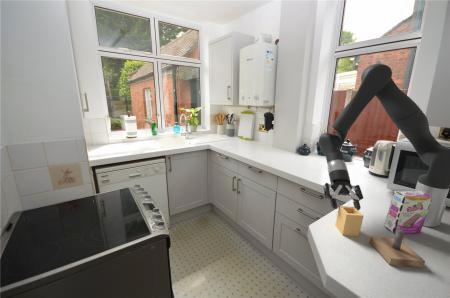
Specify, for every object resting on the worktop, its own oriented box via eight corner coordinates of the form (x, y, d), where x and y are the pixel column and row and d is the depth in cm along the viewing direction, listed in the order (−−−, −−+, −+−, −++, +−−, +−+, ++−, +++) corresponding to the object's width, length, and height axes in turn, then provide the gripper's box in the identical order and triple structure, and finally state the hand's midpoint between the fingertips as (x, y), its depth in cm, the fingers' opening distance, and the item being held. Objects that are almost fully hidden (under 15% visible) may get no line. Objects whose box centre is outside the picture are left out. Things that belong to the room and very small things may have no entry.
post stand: (398, 244, 71) (404, 221, 68) (423, 267, 61) (431, 241, 59) (369, 242, 71) (374, 219, 69) (389, 264, 62) (396, 239, 59)
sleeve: (350, 226, 80) (354, 207, 78) (358, 236, 74) (363, 215, 72) (335, 225, 81) (338, 206, 78) (342, 235, 75) (346, 214, 73)
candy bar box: (393, 234, 76) (404, 196, 72) (383, 226, 81) (393, 190, 77) (421, 234, 77) (433, 196, 73) (409, 226, 81) (420, 190, 77)
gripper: (324, 167, 84) (332, 205, 75) (359, 169, 82) (371, 208, 74) (318, 174, 90) (324, 210, 82) (350, 176, 89) (360, 213, 81)
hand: (346, 209), depth 78 cm, fingers open, 8 cm apart
